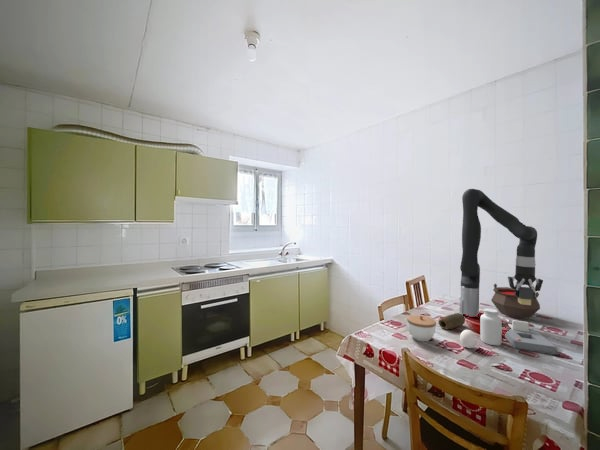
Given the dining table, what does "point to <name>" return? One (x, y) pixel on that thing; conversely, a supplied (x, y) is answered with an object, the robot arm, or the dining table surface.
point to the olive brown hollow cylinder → (452, 321)
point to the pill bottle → (491, 327)
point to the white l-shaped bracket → (519, 325)
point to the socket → (529, 341)
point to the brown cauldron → (513, 303)
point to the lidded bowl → (421, 327)
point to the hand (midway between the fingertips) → (524, 297)
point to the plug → (525, 295)
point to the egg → (468, 339)
